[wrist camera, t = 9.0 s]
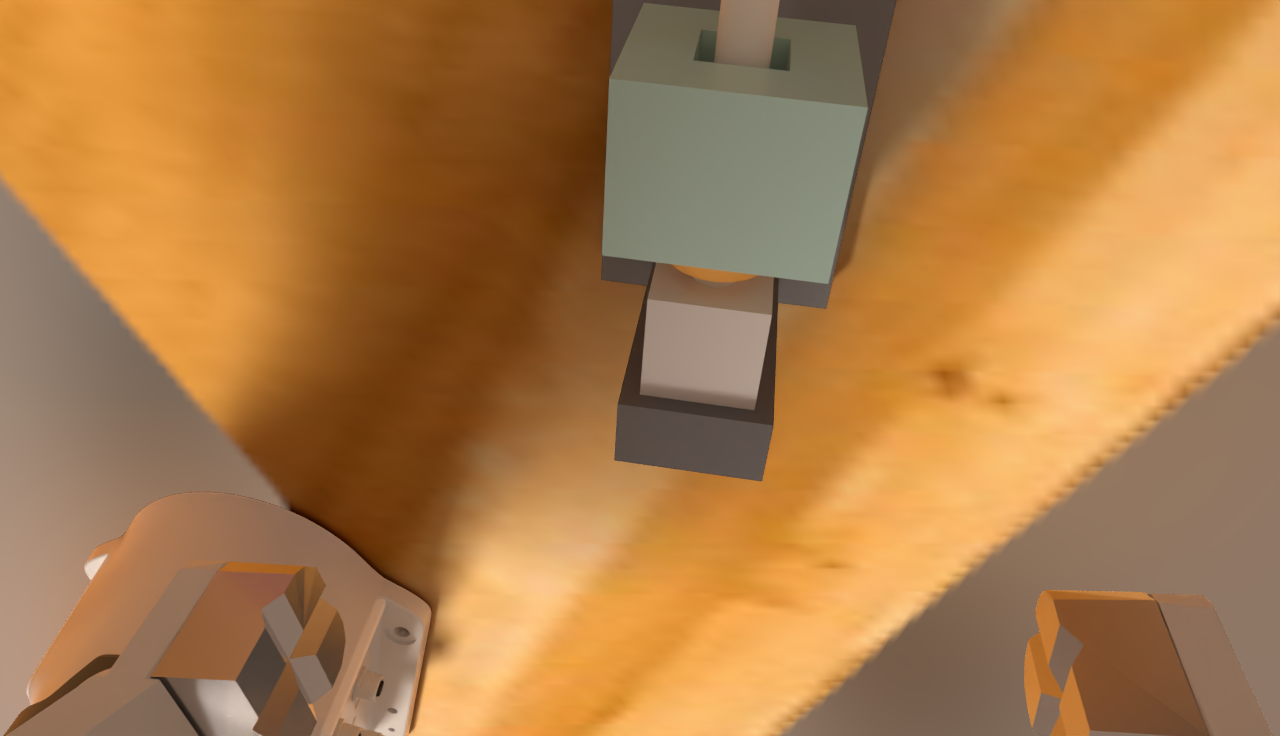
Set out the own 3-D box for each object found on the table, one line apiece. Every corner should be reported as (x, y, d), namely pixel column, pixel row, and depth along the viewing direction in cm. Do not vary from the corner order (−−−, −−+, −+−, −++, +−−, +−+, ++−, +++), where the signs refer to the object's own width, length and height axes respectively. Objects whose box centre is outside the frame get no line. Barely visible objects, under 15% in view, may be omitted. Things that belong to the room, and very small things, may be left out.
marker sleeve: (823, 181, 24) (827, 283, 20) (634, 158, 24) (602, 255, 20) (856, 25, 21) (868, 107, 17) (644, 2, 22) (609, 78, 18)
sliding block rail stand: (825, 286, 33) (833, 505, 25) (608, 258, 34) (541, 463, 25) (1016, -575, 20) (1185, -759, 11) (648, -596, 20) (533, -787, 12)
